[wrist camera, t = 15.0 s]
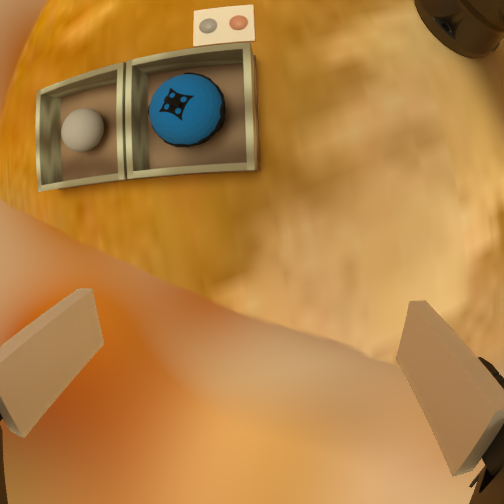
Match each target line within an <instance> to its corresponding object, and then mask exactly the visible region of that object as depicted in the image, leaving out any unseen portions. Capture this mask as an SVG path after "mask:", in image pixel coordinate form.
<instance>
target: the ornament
mask: <svg viewBox="0 0 504 504" xmlns="http://www.w3.org/2000/svg"><path fill="white" fill-rule="evenodd" d="M225 110H226V107H225V100H224V95H223V93H222V91H221V90H220V88H219V86H218V85H216V84H215V83H214V82H213V81H212V80H211V79H210V78H208V77H206V76H204V75H201V74H196V73H191V72H187V73H184V74H183V75H178V76H175V77H172V78H170V79H168V80H167V81H165V82H164V83H163V84H162V85H160V87H159V88H158V89H157V90H156V91H155V93H154V95H153V97H152V99H151V102H150V105H149V107H148V115H149V117H150V121H151V125H152V128H153V130H154V131H155V133H156V134H157V135H158V136H159V137H160V138H161V139H162V140H164V142H165V143H167V144H169V145H172V146H175V147H190V146H195V145H200V144H203V143H205V142H207V141H208V140H210V139H211V137H212V136H214V135H215V133H216V132H219V131H220V129H221V128H222V126H223V124H224V121H225V117H224V116H225Z"/></svg>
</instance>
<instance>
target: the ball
mask: <svg viewBox="0 0 504 504" xmlns="http://www.w3.org/2000/svg"><path fill="white" fill-rule="evenodd" d="M103 133H104V122H103V119H102V117H101V116H100V114H99V113H98V112H96V111H95V110H93V109H90V108H80V109H77V110H75V111H73V112H72V113H70V114H69V115H68V116H67V117H66V119H65V120H64V122H63V125H62V129H61V136H62V140H63V142H64V144H65V145H66V146H67V147H68V148H69V149H70V150H72V151H75V152H86V151H89V150H91V149H93V148H94V147H95V146H96V145H97V144H98V143H99V142H100V140H101V138H102V136H103Z"/></svg>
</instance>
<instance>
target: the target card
mask: <svg viewBox="0 0 504 504" xmlns="http://www.w3.org/2000/svg"><path fill="white" fill-rule="evenodd" d="M252 41H255V29H254V8H253V5H241V6H230V7H220V8H212V9H205V10H198V11H194V33H193V47H200V46H208V45H216V44H226V43H237V42H252Z"/></svg>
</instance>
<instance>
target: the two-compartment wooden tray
mask: <svg viewBox="0 0 504 504" xmlns="http://www.w3.org/2000/svg"><path fill="white" fill-rule="evenodd" d="M187 72H191V73H196V74H201V75H204V76H206V77H208V78H210V79H211V80H212V81H213V82H214V83H215V84H216V85H218V86H219V88H220V90H221V91H222V93H223V95H224V100H225V107H226V110H225V116H224V117H225V121H224V124H223V126H222V128H221V129H220V131H219V132H216V133H215V135H214V136H212V137H211V139H210V140H208V141H207V142H205V143H203V144H200V145H195V146H190V147H175V146H172V145H169V144H167V143H165V142H164V140H162V139H161V138H160V137H159V136H158V135H157V134H156V133H155V131H154V130H153V128H152V125H151V121H150V117H149V115H148V107H149V105H150V102H151V99H152V97H153V95H154V93H155V91H156V90H157V89H158V88H159V87H160V85H162V84H163V83H164V82H165V81H167V80H168V79H170V78H172V77H175V76H178V75H183V74H184V73H187ZM80 108H90V109H93V110H95V111H96V112H98V113H99V114H100V116H101V117H102V119H103V122H104V133H103V136H102V138H101V140H100V142H99V143H98V144H97V145H96V146H95V147H94V148H93V149H91V150H89V151H86V152H75V151H72V150H70V149H69V148H68V147H67V146H66V145H65V144H64V142H63V140H62V136H61V129H62V125H63V122H64V120H65V119H66V117H67V116H68V115H69V114H70V113H72V112H73V111H75V110H77V109H80ZM36 168H37V183H38V192H41V191H46V190H52V189H64V188H71V187H77V186H84V185H92V184H99V183H107V182H115V181H124V180H133V179H142V178H153V177H164V176H176V175H189V174H204V173H222V172H245V171H260V156H259V127H258V100H257V75H256V57H255V55H253V52H252V48H251V44H250V42H245V43H232V44H221V45H212V46H204V47H197V48H190V49H183V50H177V51H172V52H166V53H161V54H156V55H151V56H146V57H142V58H138V59H133V60H129V61H126V63H124V62H121V63H118V64H114V65H110V66H107V67H103V68H100V69H97V70H93V71H90V72H87V73H84V74H81V75H78V76H75V77H72V78H69V79H66V80H64V81H61V82H58V83H56V84H53V85H51V86H48V87H46V88H43V89H41V90H38V91H37V102H36Z"/></svg>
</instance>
